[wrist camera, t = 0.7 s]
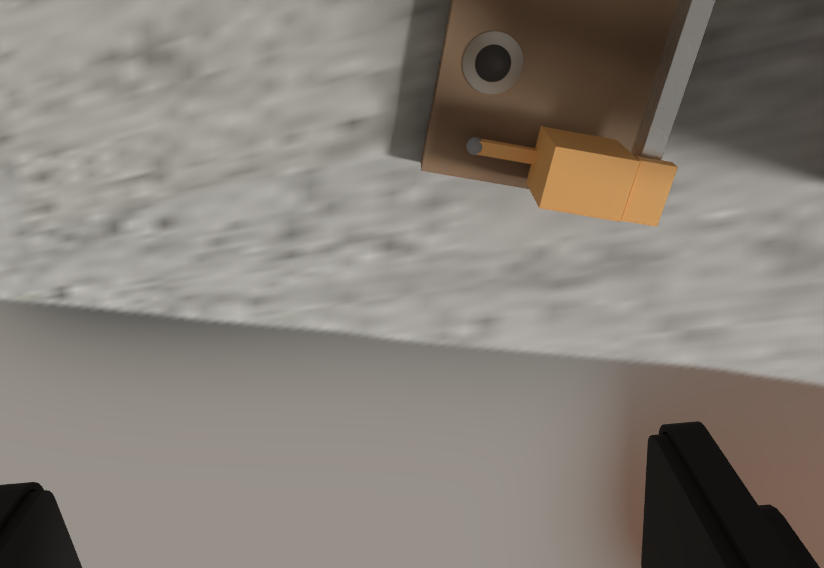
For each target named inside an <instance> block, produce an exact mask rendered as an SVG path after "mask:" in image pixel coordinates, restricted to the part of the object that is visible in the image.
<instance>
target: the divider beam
mask: <svg viewBox="0 0 824 568" xmlns="http://www.w3.org/2000/svg"><path fill="white" fill-rule="evenodd" d="M715 1H716V0H679V3H678V6H677V10H676V13H675V16H674V19H673V22H672V25H671V28H670V31H669V35H668V38H667V41H666V44H665V47H664V50H663V53H662V56H661V60H660V63H659V66H658V69H657V72H656V75H655V78H654V82H653V85H652V88H651V91H650V94H649V97H648V100H647V103H646V107H645V110H644V113H643V116H642V119H641V122H640V125H639V128H638V132H637V135H636V138H635V141H634V144H633V147H632V150H631V153H632V154H633V155H634V156H635V157H636V156H639V157H645V158H650V159H656V160H661V159H662V156H663V153H664V150H665V147H666V145H667V142H668V139H669V136H670V133H671V130H672V127H673V124H674V121H675V118H676V115H677V112H678V109H679V106H680V103H681V100H682V98H683V95H684V92H685V89H686V86H687V83H688V80H689V77H690V74H691V71H692V68H693V65H694V62H695V59H696V56H697V53H698V50H699V48H700V45H701V42H702V39H703V36H704V33H705V30H706V27H707V24H708V21H709V18H710V15H711V12H712V9H713V6H714V3H715Z"/></svg>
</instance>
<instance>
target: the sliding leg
mask: <svg viewBox="0 0 824 568" xmlns="http://www.w3.org/2000/svg"><path fill="white" fill-rule="evenodd" d="M466 148H467V150H468V152H469V153H470V154H472V155H482V156H488V157H493V158H499V159H505V160H510V161H516V162H522V163H528V164H531V166H530V170H529V174H528V178H527V181H526V183H527V185H528V187H529V189H530V191H531V193H532V195H533V197H534V199H535V201H536V203H537V205H538V207H539V208H542V209H548V210H554V211H560V212H566V213H572V214H578V215H583V216H589V217H595V218H601V219H607V220H613V221H619V222H620V221H626V222H632V223H638V224H644V225H650V226H656V227H657V225H658V222H659V219H660V217H661V214H662V211H663V208H664V205H665V202H666V200H667V197H668V194H669V191H670V188H671V185H672V183H673V180H674V177H675V174H676V171H677V168H678V167H677V166H676V165H675V164H674V163H672V162H667V161H662V160H656V159H650V158H645V157H639V156H636V157H635V156H634V155H633V154H632V153H630V152H629V151H628V150H627V149H626V148H625V147H624V146H623V145H622V144H621V143H620V142H619V141H617V140H615V139H610V138H604V137H599V136H593V135H587V134H582V133H576V132H571V131H565V130H559V129H554V128H548V127H543V126H541V127H540V131H539V135H538V139H537V143H536V147H535V148H531V147H526V146H520V145H514V144H509V143H503V142H497V141H492V140H486V139H480V138H478V137H472V138H470V139H469V140H468V142H467V144H466Z"/></svg>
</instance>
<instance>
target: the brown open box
mask: <svg viewBox="0 0 824 568" xmlns="http://www.w3.org/2000/svg"><path fill="white" fill-rule="evenodd" d="M678 3H679V0H451V5H450V10H449V15H448V21H447V26H446V31H445V37H444V42H443V47H442V53H441V58H440V63H439V69H438V74H437V79H436V85H435V90H434V95H433V101H432V106H431V111H430V117H429V122H428V127H427V133H426V138H425V143H424V149H423V154H422V159H421V171H427V172H433V173H439V174H445V175H450V176H456V177H462V178H468V179H474V180H480V181H486V182H491V183H497V184H503V185H509V186H515V187H521V188H526V189H529V187H528V185H527V183H526V181H527V178H528V174H529V170H530V166H531V164H528V163H522V162H516V161H510V160H505V159H499V158H493V157H488V156H482V155H472V154H470V153H469V152H468V150H467V148H466V144H467V142H468V140H469V139H470V138H472V137H478V138H480V139H486V140H492V141H497V142H503V143H509V144H514V145H520V146H526V147H531V148H535V147H536V143H537V139H538V135H539V131H540V127H541V126H543V127H548V128H554V129H559V130H565V131H571V132H576V133H582V134H587V135H593V136H599V137H604V138H610V139H615V140H617V141H619V142H620V143H621V144H622V145H623V146H624V147H625V148H626V149H627V150H628V151H629V152H630V153H631V150H632V147H633V144H634V141H635V138H636V135H637V132H638V128H639V125H640V122H641V119H642V116H643V113H644V110H645V107H646V103H647V100H648V97H649V94H650V91H651V88H652V85H653V82H654V78H655V75H656V72H657V69H658V66H659V63H660V60H661V56H662V53H663V50H664V47H665V44H666V41H667V38H668V35H669V31H670V28H671V25H672V22H673V19H674V16H675V13H676V10H677V6H678Z"/></svg>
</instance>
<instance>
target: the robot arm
mask: <svg viewBox="0 0 824 568" xmlns="http://www.w3.org/2000/svg"><path fill="white" fill-rule="evenodd" d="M647 450H648V451H647V467H646V486H645V504H644V524H643V541H642V561H641V566H642V568H820V567H819V566H818V564H817V563H816V562H815V560H814V559H813V557H812V556H811V554H810V553H809V552H808V550H807V549H806V548H805V546H804V545H803V543H802V542H801V541H800V539H799V537H798V536H797V535H796V533H795V532H794V530H793V529H792V528H791V526H790V525H789V523H788V522H787V520H786V519H785V518H784V516H783V515H782V514H781V513H780V512H779V511H778V509H777V508H775V507H773V506H771V505H759V506H758V504H757V503H756V501H755V500H754V498H753V497H752V496H751V494H750V493H749V491H748V490H747V488H746V487H745V485H744V484H743V482H742V481H741V479H740V478H739V476H738V475H737V473H736V472H735V470H734V469H733V467H732V466H731V464H730V463H729V462H728V460H727V458H726V457H725V456H724V454H723V453H722V451H721V450H720V448H719V447H718V445H717V444H716V442H715V441H714V440H713V438H712V436H711V435H710V433H709V432H708V430H707V429H706V427H705V426H704V425H703V424H702V423H701V422H698V421H697V422H686V423H675V424H665V425H662V426H661V428H660V430H659V435H651V436H649V439H648V449H647ZM0 568H82V566H81V563H80V561H79V558H78V556H77V553H76V551H75V548H74V545H73V543H72V540H71V538H70V535H69V533H68V530H67V528H66V525H65V522H64V520H63V518H62V515H61V512H60V510H59V507H58V505H57V502H56V500H55V497H54V495H53V494H52V493H51V492H50V491H47V490H45V491H44V489H43V488H42V486H41V485H40V484H39V483H35V482H29V483H18V484H6V485H0Z"/></svg>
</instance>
